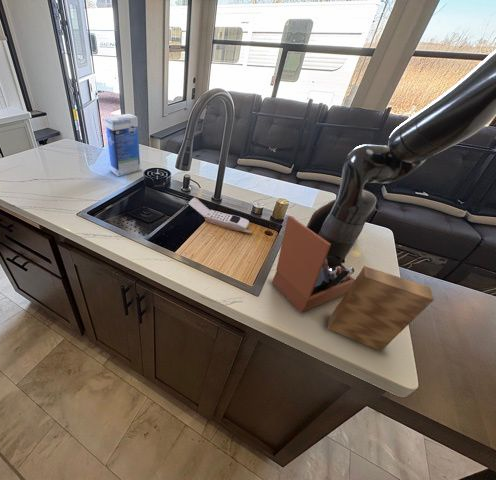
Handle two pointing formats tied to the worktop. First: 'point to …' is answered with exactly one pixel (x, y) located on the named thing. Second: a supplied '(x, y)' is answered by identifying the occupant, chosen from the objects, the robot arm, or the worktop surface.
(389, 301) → the wooden block
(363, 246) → the worktop surface
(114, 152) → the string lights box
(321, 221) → the letter holder
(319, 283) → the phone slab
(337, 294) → the case
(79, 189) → the worktop surface
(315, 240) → the cover
